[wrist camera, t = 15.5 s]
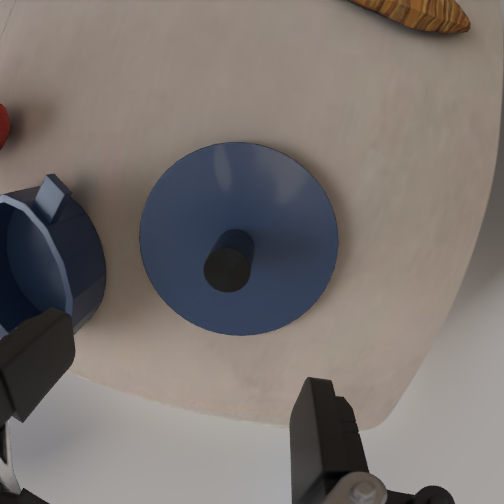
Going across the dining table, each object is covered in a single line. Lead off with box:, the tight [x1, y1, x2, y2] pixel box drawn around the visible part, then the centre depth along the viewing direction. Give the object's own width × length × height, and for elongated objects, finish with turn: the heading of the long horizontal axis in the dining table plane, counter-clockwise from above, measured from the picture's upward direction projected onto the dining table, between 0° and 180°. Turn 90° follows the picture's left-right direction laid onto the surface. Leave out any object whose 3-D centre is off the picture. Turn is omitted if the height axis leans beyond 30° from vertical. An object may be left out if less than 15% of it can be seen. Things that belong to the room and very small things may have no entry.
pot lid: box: [139, 142, 338, 336], centre depth 21 cm, size 15×15×6 cm
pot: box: [0, 174, 106, 339], centre depth 22 cm, size 14×20×6 cm
